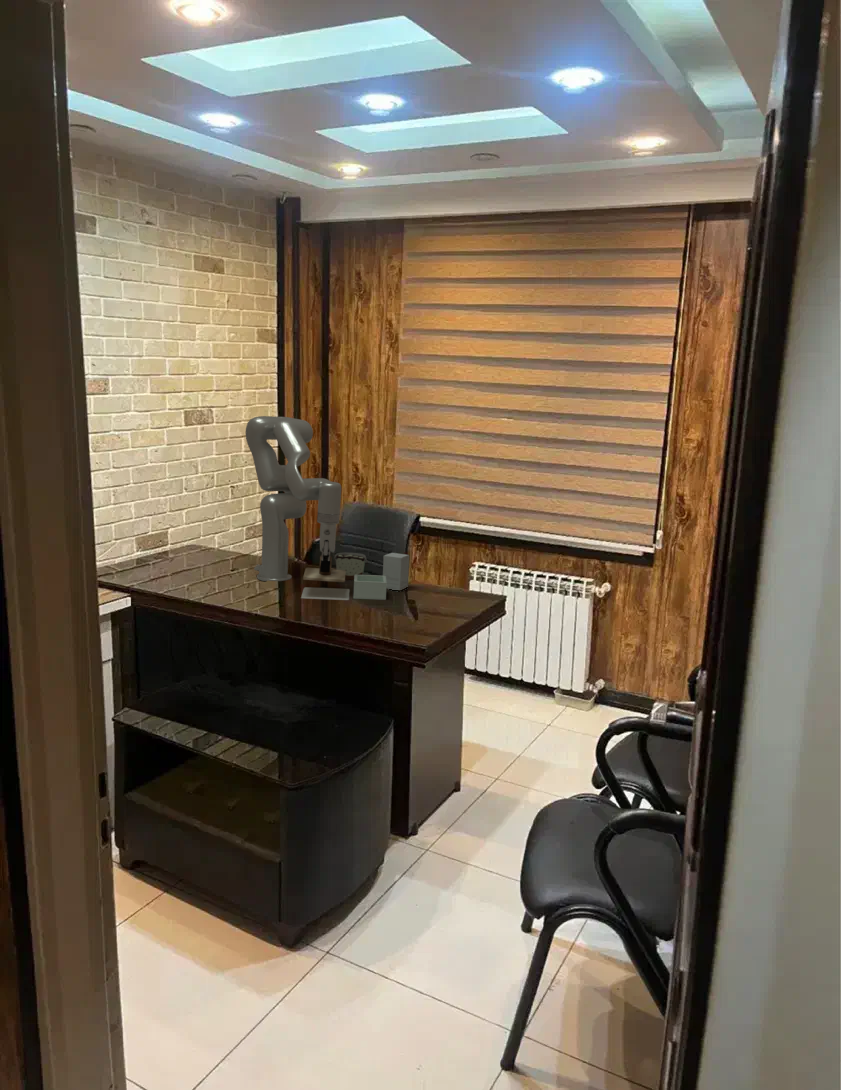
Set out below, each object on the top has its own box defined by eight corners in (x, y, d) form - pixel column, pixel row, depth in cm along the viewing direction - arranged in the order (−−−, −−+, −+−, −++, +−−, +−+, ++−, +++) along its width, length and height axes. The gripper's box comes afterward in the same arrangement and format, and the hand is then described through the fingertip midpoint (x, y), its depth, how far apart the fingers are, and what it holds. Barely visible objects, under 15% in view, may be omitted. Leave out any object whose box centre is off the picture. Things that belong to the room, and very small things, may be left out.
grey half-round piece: (368, 579, 311) (369, 553, 309) (365, 583, 305) (366, 556, 303) (336, 577, 312) (337, 551, 310) (333, 580, 306) (334, 554, 304)
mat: (300, 599, 274) (301, 598, 274) (304, 588, 290) (304, 587, 290) (348, 601, 275) (348, 599, 275) (349, 590, 291) (349, 589, 291)
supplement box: (408, 588, 300) (410, 554, 298) (399, 592, 293) (401, 557, 291) (390, 585, 303) (392, 552, 301) (381, 589, 296) (383, 555, 294)
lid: (303, 579, 275) (304, 559, 273) (305, 569, 288) (306, 551, 287) (344, 582, 276) (346, 562, 274) (345, 572, 289) (346, 553, 288)
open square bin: (353, 600, 278) (354, 581, 277) (353, 592, 289) (354, 574, 288) (385, 601, 279) (386, 582, 278) (384, 593, 290) (385, 575, 288)
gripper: (338, 523, 270) (335, 576, 274) (340, 514, 286) (336, 565, 290) (315, 521, 269) (312, 575, 273) (318, 513, 286) (315, 564, 289)
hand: (325, 569), depth 282 cm, fingers closed on lid, 4 cm apart
